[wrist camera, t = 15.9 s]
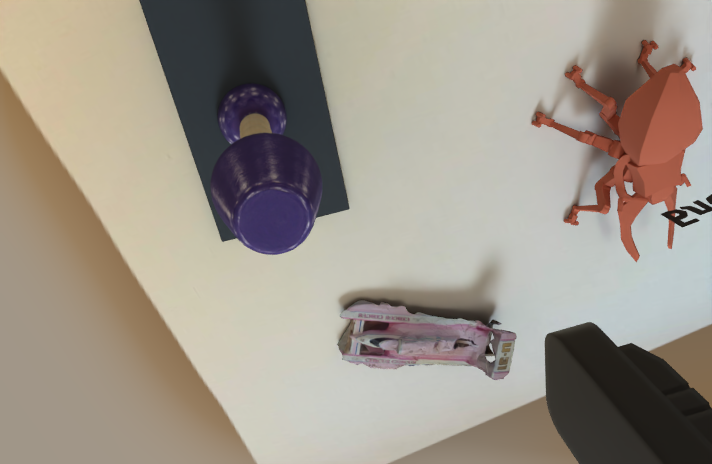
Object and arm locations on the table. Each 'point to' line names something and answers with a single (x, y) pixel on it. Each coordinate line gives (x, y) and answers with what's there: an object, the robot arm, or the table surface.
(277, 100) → the toy lamp
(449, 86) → the table surface
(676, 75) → the beetle
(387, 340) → the boxed toy car
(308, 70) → the mat
